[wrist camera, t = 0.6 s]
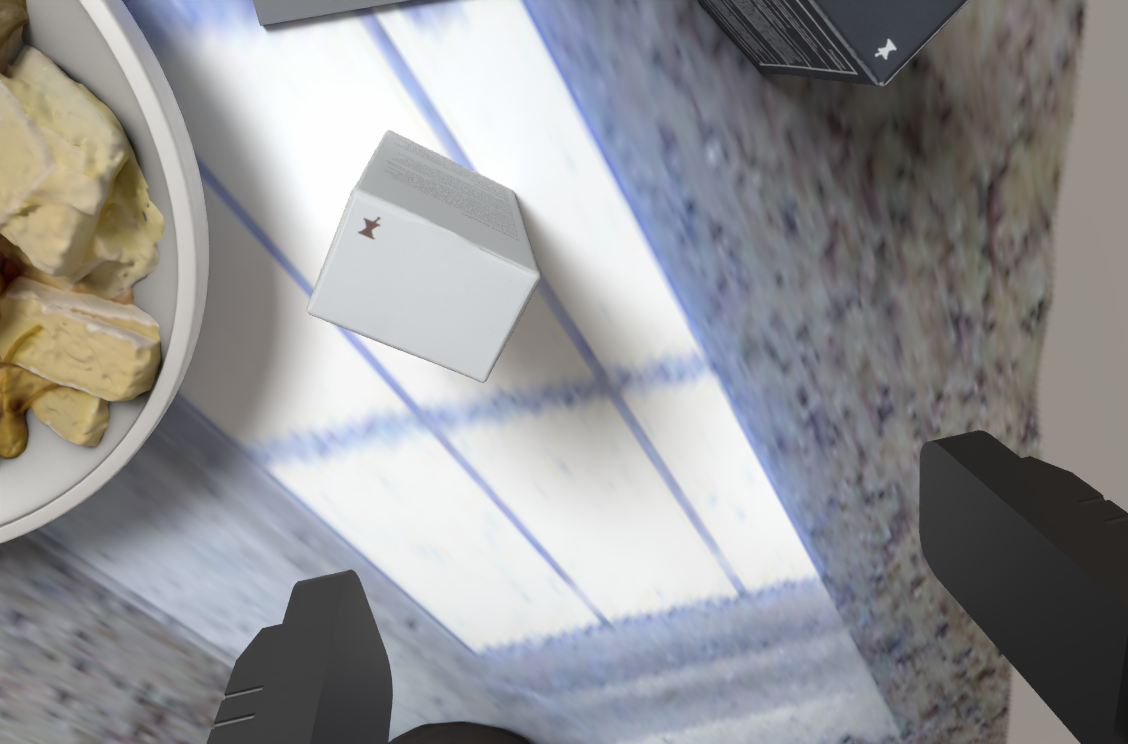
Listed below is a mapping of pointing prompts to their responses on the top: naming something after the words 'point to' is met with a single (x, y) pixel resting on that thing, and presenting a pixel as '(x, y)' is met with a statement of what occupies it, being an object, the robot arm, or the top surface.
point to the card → (308, 8)
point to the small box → (832, 34)
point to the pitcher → (457, 735)
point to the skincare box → (428, 260)
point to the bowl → (89, 252)
